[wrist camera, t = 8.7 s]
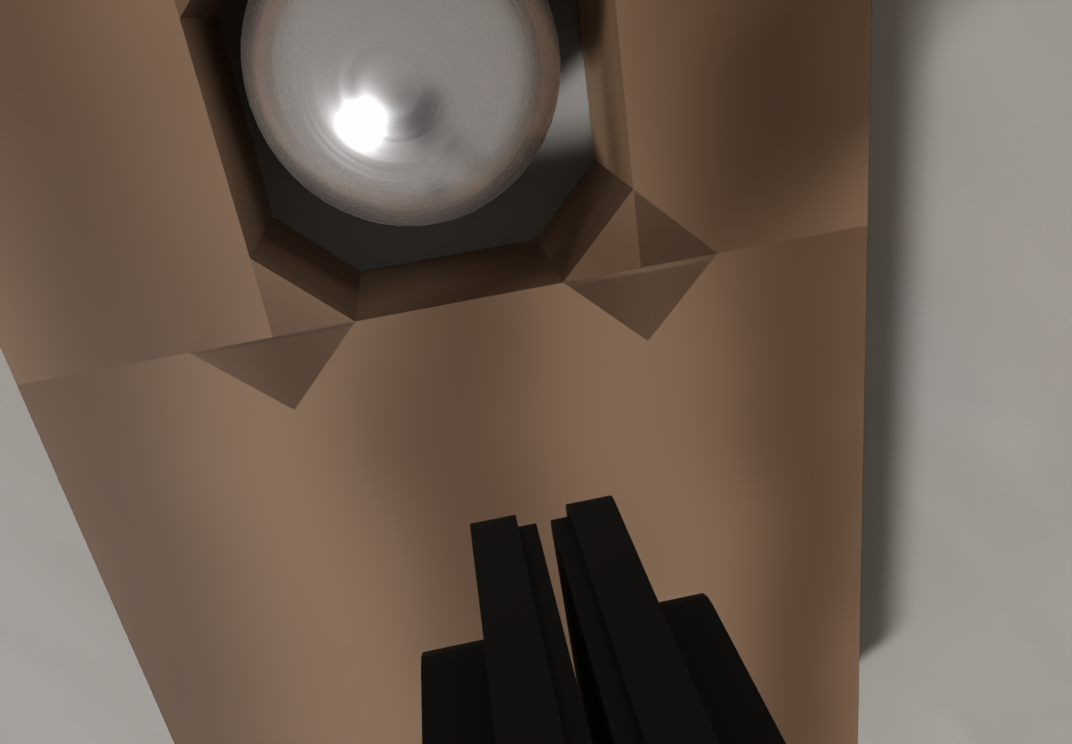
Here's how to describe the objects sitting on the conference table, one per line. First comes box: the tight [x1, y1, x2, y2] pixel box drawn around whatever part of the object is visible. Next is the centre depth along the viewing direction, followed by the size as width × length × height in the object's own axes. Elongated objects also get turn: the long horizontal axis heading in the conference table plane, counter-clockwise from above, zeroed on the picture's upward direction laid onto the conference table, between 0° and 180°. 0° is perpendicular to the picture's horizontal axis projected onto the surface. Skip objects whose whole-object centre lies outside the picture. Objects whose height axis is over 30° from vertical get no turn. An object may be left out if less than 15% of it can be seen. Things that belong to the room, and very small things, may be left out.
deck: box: [0, 0, 872, 744], centre depth 17 cm, size 15×24×3 cm, turn 8°
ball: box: [241, 0, 560, 226], centre depth 14 cm, size 5×5×5 cm
